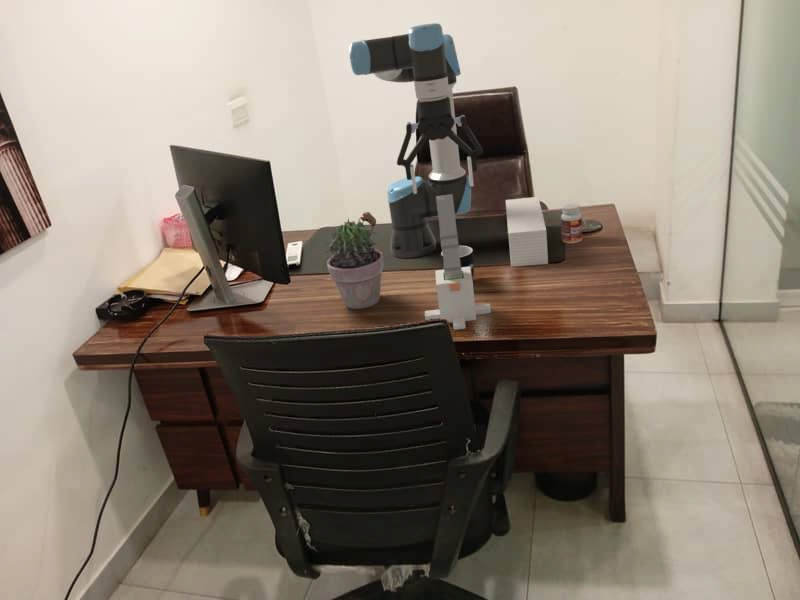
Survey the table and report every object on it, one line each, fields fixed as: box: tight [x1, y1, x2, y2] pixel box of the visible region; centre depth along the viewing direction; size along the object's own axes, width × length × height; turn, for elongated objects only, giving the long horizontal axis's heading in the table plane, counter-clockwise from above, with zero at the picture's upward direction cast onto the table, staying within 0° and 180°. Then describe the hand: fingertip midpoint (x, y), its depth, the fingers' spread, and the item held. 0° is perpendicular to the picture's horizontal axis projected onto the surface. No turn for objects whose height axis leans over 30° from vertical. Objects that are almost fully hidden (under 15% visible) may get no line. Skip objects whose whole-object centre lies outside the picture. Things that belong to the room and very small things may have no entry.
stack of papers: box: [505, 196, 549, 268], centre depth 208 cm, size 32×11×11 cm, turn 173°
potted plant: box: [320, 211, 387, 310], centre depth 184 cm, size 18×20×25 cm
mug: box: [440, 245, 475, 281], centre depth 190 cm, size 12×9×10 cm
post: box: [436, 194, 462, 280], centre depth 166 cm, size 4×4×24 cm
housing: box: [424, 266, 492, 331], centre depth 172 cm, size 17×17×11 cm
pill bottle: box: [560, 202, 583, 245], centre depth 207 cm, size 6×6×11 cm
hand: (443, 188), depth 160 cm, fingers open, 13 cm apart
